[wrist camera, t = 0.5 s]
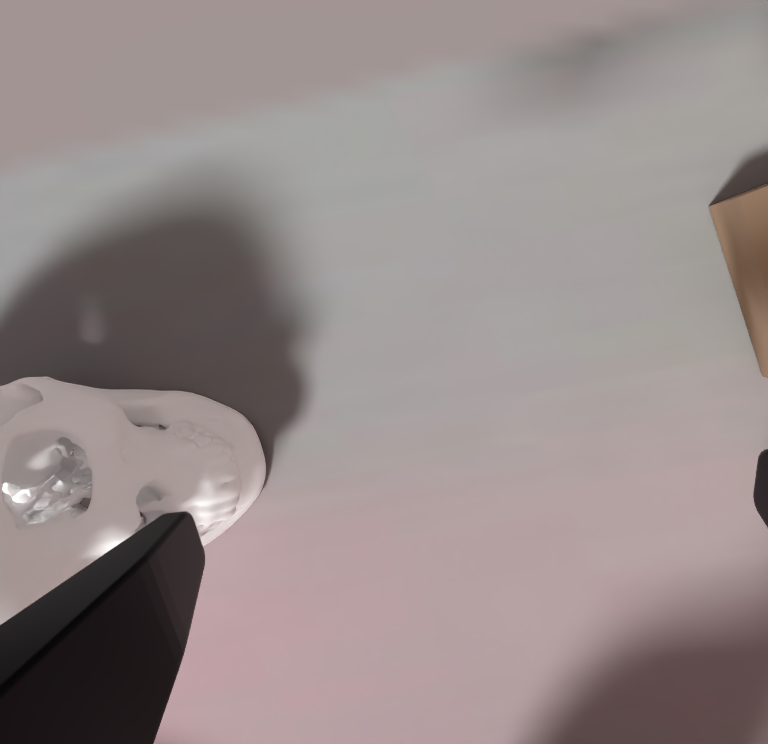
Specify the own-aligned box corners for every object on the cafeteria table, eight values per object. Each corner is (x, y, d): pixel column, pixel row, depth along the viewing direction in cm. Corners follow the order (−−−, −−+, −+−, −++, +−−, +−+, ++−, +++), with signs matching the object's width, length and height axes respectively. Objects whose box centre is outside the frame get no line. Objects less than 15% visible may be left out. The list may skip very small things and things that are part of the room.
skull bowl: (330, 574, 22) (-14, 847, 13) (146, 539, 31) (-145, 688, 21) (271, 321, 21) (-164, 413, 11) (95, 357, 30) (-240, 427, 20)
